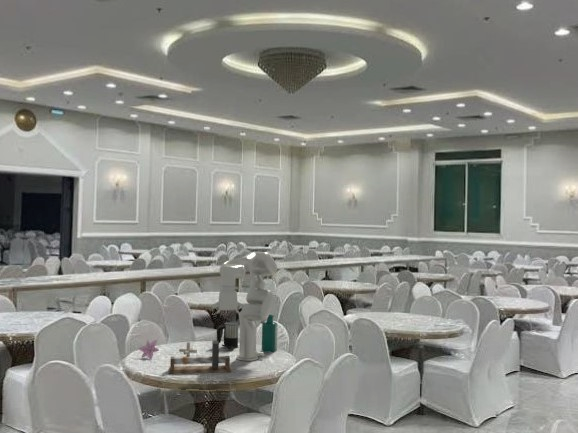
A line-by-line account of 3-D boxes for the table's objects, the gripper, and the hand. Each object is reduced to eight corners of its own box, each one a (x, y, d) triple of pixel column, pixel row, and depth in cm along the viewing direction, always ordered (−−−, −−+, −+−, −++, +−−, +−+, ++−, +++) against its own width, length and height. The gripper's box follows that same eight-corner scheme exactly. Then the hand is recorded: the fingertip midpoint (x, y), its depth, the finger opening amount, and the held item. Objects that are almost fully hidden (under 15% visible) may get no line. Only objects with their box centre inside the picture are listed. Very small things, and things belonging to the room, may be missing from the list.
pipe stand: (229, 367, 334) (229, 353, 334) (230, 372, 324) (231, 358, 324) (169, 368, 329) (169, 354, 329) (169, 373, 318) (169, 359, 318)
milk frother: (234, 344, 391) (235, 321, 391) (245, 349, 378) (246, 325, 378) (214, 346, 384) (214, 323, 384) (224, 352, 370) (225, 327, 370)
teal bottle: (277, 349, 380) (278, 314, 380) (274, 352, 372) (275, 316, 372) (262, 348, 382) (263, 313, 382) (258, 351, 374) (259, 315, 374)
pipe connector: (193, 362, 343) (193, 344, 343) (176, 361, 345) (176, 343, 345) (199, 358, 353) (199, 341, 353) (182, 357, 355) (183, 339, 355)
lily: (136, 357, 356) (134, 345, 351) (153, 347, 363) (151, 334, 358) (148, 367, 348) (145, 354, 343) (165, 356, 355) (163, 344, 350)
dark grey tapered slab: (217, 365, 332) (218, 340, 331) (218, 369, 324) (218, 343, 324) (211, 365, 331) (212, 340, 331) (212, 369, 324) (213, 343, 323)
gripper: (243, 288, 334) (243, 319, 334) (211, 287, 331) (211, 319, 331) (245, 289, 326) (244, 321, 326) (212, 289, 324) (211, 322, 324)
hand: (227, 320), depth 329 cm, fingers open, 9 cm apart
